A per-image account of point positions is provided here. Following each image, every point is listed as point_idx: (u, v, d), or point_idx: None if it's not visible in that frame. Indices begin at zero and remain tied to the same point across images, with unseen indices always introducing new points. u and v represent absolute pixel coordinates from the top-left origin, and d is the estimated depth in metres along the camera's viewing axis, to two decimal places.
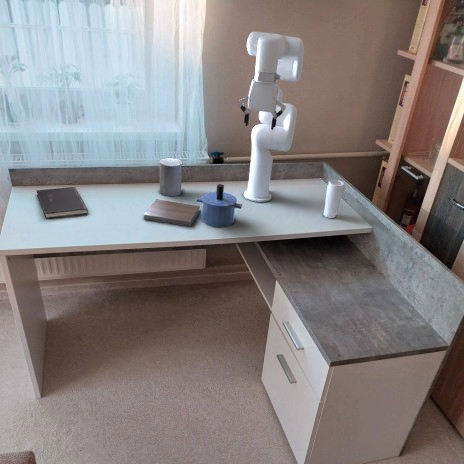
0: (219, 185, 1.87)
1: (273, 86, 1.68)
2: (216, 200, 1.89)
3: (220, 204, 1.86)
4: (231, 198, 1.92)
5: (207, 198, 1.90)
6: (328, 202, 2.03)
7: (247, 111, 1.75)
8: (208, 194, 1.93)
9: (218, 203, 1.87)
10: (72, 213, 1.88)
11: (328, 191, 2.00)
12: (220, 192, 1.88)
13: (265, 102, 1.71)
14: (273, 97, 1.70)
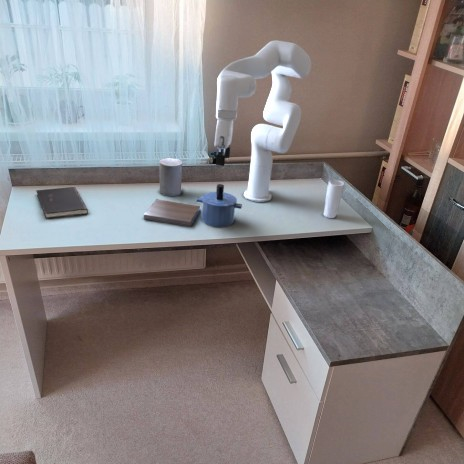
0: (219, 185, 1.87)
1: None
2: (216, 200, 1.89)
3: (220, 204, 1.86)
4: (231, 198, 1.92)
5: (207, 198, 1.90)
6: (328, 202, 2.03)
7: (224, 151, 1.75)
8: (208, 194, 1.93)
9: (218, 203, 1.87)
10: (72, 213, 1.88)
11: (328, 191, 2.00)
12: (220, 192, 1.88)
13: (231, 136, 1.77)
14: None
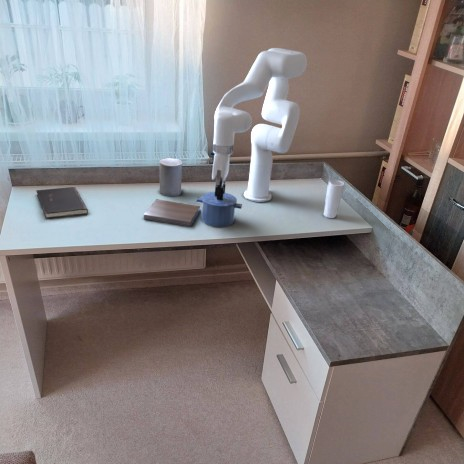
0: None
1: None
2: (216, 200, 1.89)
3: (220, 204, 1.86)
4: (231, 198, 1.92)
5: (207, 198, 1.90)
6: (328, 202, 2.03)
7: (223, 184, 1.85)
8: (208, 194, 1.93)
9: (218, 203, 1.87)
10: (72, 213, 1.88)
11: (328, 191, 2.00)
12: None
13: (228, 168, 1.85)
14: (229, 161, 1.86)
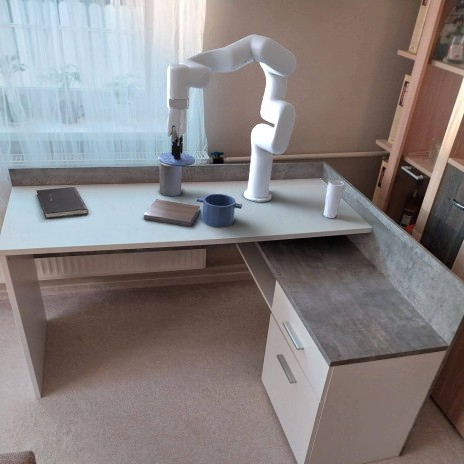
0: None
1: None
2: (173, 159, 1.81)
3: (177, 163, 1.78)
4: (189, 158, 1.84)
5: (164, 158, 1.82)
6: (328, 202, 2.03)
7: (179, 142, 1.77)
8: (166, 154, 1.85)
9: (175, 162, 1.79)
10: (72, 213, 1.88)
11: (328, 191, 2.00)
12: None
13: (184, 125, 1.76)
14: None
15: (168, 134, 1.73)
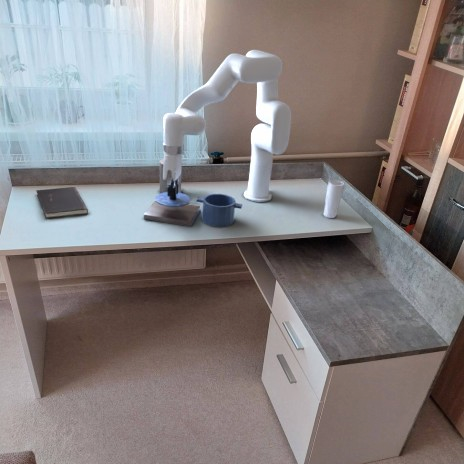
0: None
1: None
2: (169, 200, 1.91)
3: (172, 204, 1.88)
4: (185, 198, 1.93)
5: (160, 198, 1.91)
6: (328, 202, 2.03)
7: (175, 184, 1.87)
8: (162, 194, 1.95)
9: (170, 203, 1.88)
10: (72, 213, 1.88)
11: (328, 191, 2.00)
12: None
13: (180, 168, 1.86)
14: (181, 161, 1.87)
15: (164, 178, 1.83)
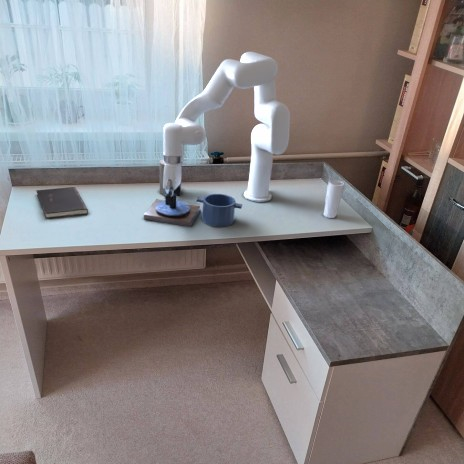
0: None
1: None
2: (169, 209, 1.93)
3: (172, 213, 1.90)
4: (184, 207, 1.96)
5: (160, 207, 1.94)
6: (328, 202, 2.03)
7: (172, 193, 1.86)
8: (162, 203, 1.97)
9: (170, 212, 1.91)
10: (72, 213, 1.88)
11: (328, 191, 2.00)
12: None
13: (180, 177, 1.88)
14: (181, 170, 1.89)
15: (164, 187, 1.85)
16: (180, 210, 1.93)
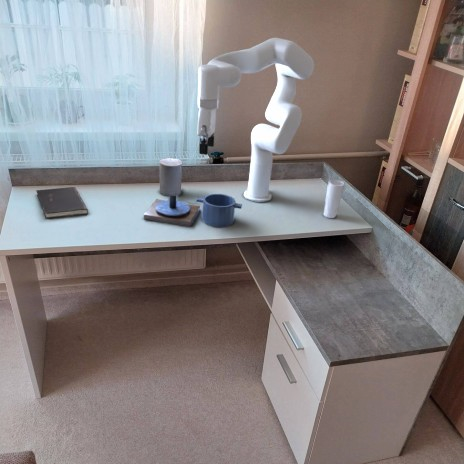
0: (171, 194, 1.91)
1: None
2: (169, 209, 1.93)
3: (172, 213, 1.90)
4: (184, 207, 1.96)
5: (160, 207, 1.94)
6: (328, 202, 2.03)
7: (207, 140, 1.77)
8: (162, 203, 1.97)
9: (170, 212, 1.91)
10: (72, 213, 1.88)
11: (328, 191, 2.00)
12: (173, 201, 1.92)
13: (214, 124, 1.80)
14: (215, 117, 1.81)
15: (198, 134, 1.77)
16: (180, 210, 1.93)
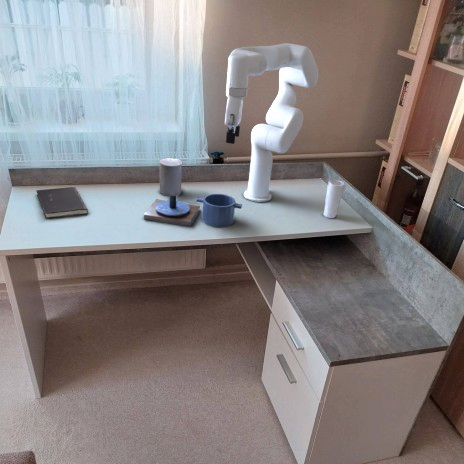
0: (171, 194, 1.91)
1: None
2: (169, 209, 1.93)
3: (172, 213, 1.90)
4: (184, 207, 1.96)
5: (160, 207, 1.94)
6: (328, 202, 2.03)
7: (234, 129, 1.78)
8: (162, 203, 1.97)
9: (170, 212, 1.91)
10: (72, 213, 1.88)
11: (328, 191, 2.00)
12: (173, 201, 1.92)
13: (241, 114, 1.80)
14: None
15: (226, 122, 1.77)
16: (180, 210, 1.93)
